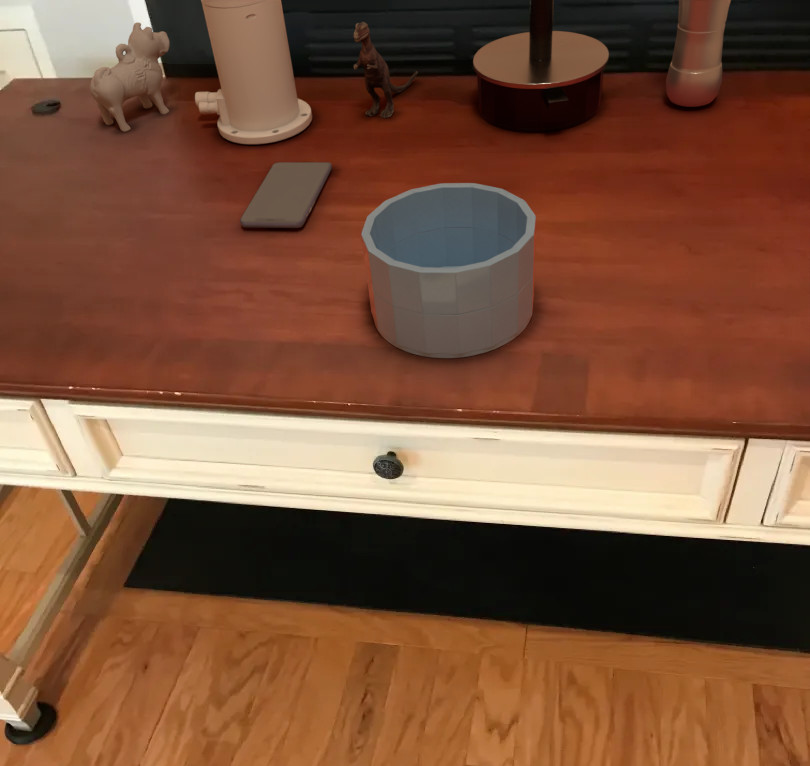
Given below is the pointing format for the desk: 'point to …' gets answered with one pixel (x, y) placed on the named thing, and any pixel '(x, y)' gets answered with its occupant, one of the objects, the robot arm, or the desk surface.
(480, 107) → the pan
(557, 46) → the lid
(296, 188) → the smartphone
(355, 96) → the desk surface
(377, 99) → the dinosaur model
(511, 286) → the pot
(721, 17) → the plastic bottle
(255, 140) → the robot arm
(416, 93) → the desk surface
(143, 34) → the dog figurine
